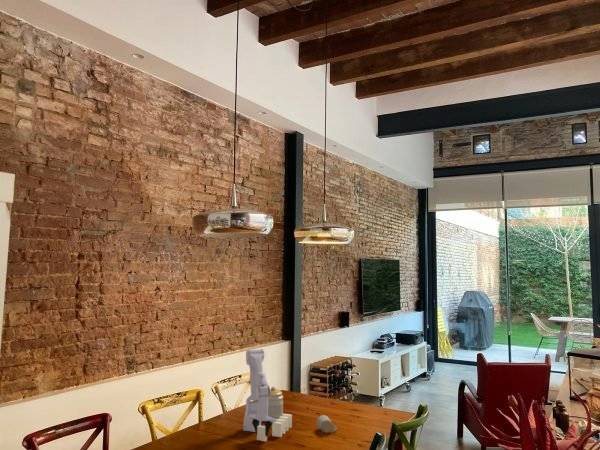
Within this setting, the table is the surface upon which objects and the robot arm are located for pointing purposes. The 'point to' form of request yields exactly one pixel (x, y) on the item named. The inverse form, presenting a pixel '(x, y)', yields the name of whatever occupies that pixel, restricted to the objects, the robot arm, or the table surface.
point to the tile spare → (261, 433)
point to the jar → (275, 403)
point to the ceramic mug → (325, 424)
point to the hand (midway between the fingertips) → (262, 435)
